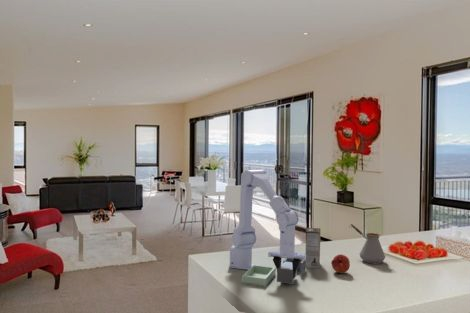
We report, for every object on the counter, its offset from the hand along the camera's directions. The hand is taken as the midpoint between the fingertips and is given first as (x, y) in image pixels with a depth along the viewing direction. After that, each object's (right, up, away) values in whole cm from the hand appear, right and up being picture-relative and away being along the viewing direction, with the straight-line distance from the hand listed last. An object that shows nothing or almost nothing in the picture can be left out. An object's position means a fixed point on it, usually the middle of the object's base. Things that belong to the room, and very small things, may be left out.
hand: (286, 276), depth 160 cm
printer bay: (+5, -3, +15) cm, 16 cm away
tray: (-10, -3, +6) cm, 12 cm away
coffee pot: (+43, -3, +38) cm, 57 cm away
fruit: (+25, -3, +16) cm, 30 cm away
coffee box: (+15, -3, +26) cm, 31 cm away
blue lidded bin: (+1, -2, +2) cm, 3 cm away
